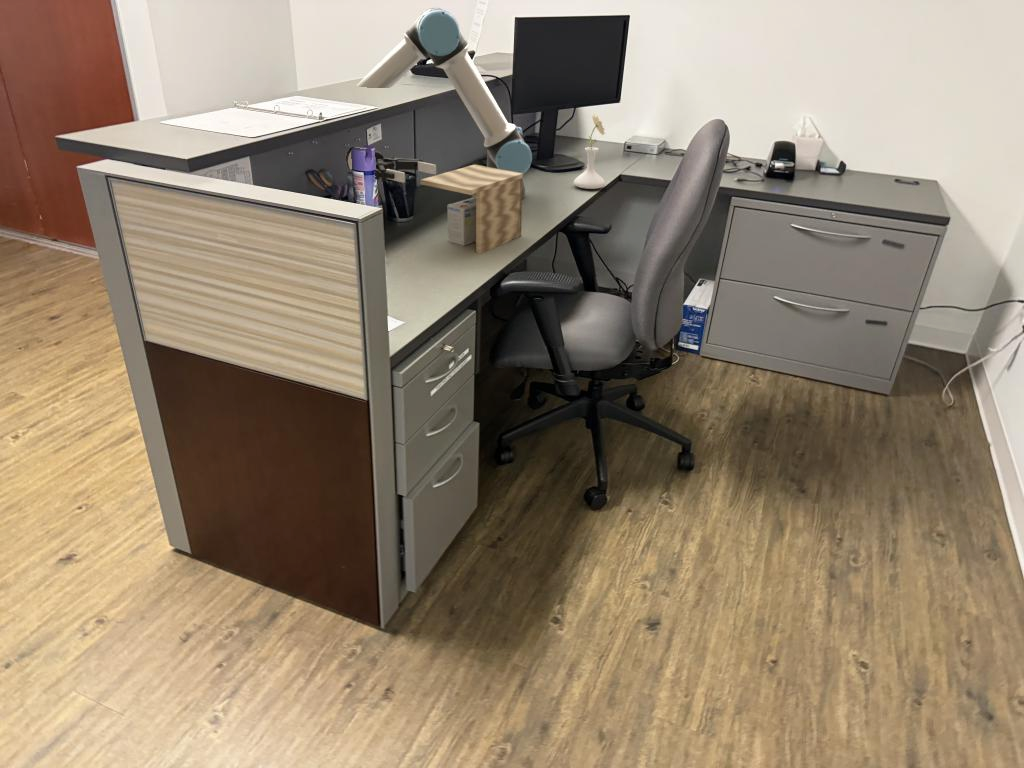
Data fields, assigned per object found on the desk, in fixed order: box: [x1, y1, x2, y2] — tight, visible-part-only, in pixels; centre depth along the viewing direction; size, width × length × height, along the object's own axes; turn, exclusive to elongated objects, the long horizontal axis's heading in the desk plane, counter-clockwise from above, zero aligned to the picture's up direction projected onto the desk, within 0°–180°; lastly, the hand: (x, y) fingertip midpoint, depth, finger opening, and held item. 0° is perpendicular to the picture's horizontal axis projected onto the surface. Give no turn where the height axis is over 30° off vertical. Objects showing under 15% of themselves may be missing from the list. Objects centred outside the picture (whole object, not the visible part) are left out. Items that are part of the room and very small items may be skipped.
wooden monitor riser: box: [419, 164, 524, 254], centre depth 212 cm, size 24×17×18 cm
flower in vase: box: [573, 113, 606, 190], centre depth 268 cm, size 13×11×25 cm
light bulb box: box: [446, 197, 476, 247], centre depth 215 cm, size 11×7×11 cm, turn 141°
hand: (420, 173), depth 218 cm, fingers open, 13 cm apart
